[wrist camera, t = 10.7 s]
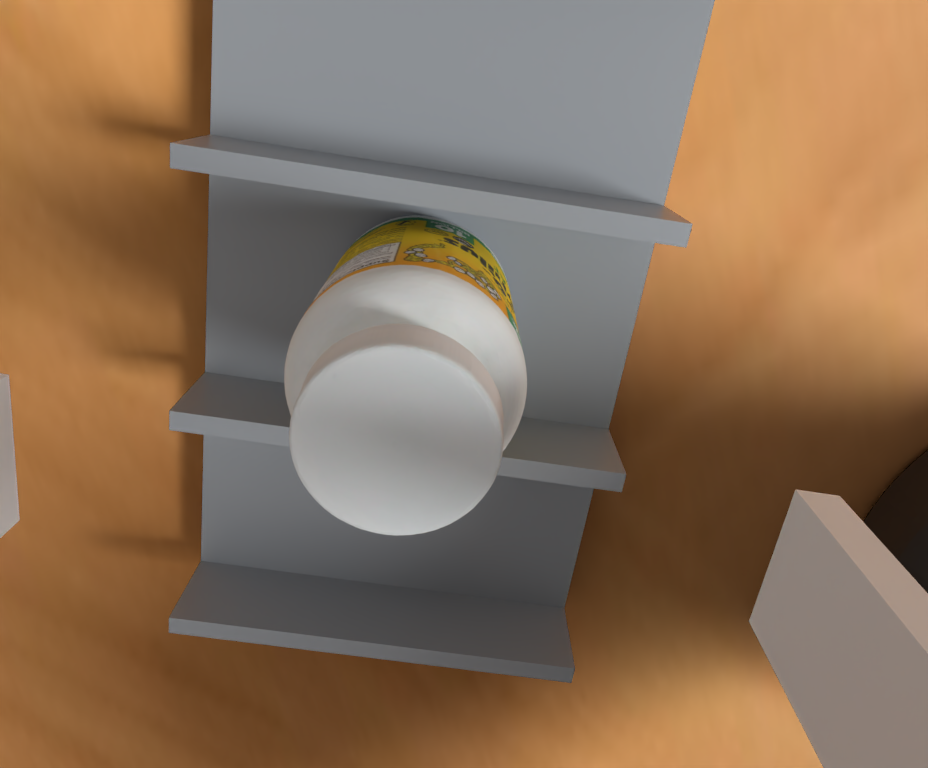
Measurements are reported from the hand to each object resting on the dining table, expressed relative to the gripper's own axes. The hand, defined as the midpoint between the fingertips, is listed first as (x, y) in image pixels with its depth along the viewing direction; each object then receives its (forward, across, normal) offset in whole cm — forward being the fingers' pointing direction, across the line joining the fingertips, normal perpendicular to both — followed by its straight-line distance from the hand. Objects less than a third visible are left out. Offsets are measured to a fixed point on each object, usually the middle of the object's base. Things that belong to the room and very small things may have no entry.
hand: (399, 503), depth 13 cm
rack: (+12, 0, -1) cm, 12 cm away
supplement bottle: (+11, 0, -1) cm, 11 cm away
